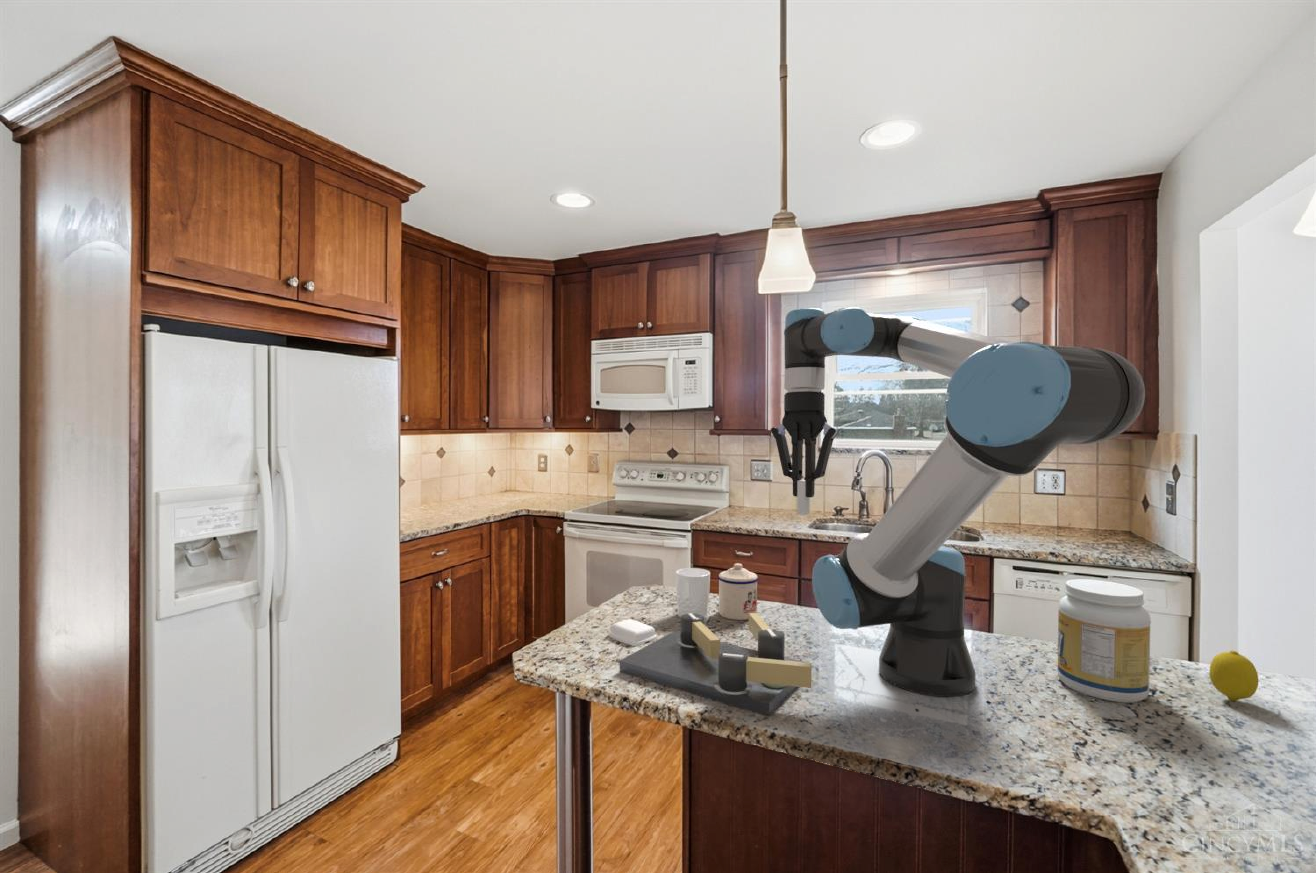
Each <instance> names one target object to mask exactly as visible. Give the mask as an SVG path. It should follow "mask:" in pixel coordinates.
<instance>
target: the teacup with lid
mask: <svg viewBox="0 0 1316 873" xmlns="http://www.w3.org/2000/svg"><path fill="white" fill-rule="evenodd" d="M717 579H718V580H719V581H718V614H719V615H720V617H723V618H725V619H727V620H728V619H729V620H733V621H746V620H748V621H749V613H757V614H758V581H759V577H758V575H757V574H756V573H754V572H752V571H749V570H748V569H746V568H744V567H743V564H742V563H738V562H737V563H734V564H733V567H731V568H728V569H727V570H724V571H722V572H720V573H719V574H718V576H717Z"/></svg>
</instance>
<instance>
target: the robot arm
mask: <svg viewBox="0 0 1316 873" xmlns="http://www.w3.org/2000/svg"><path fill="white" fill-rule="evenodd" d="M784 323H785V324H784V325H785V326H784V327H785V328H784V331H783V335H784V387H783V388H784V390H786V391H787V392H785V394H784V397H783V398H784V401H783V402H784V403H783V408H784V410H783V411H784V413H783V414H784V416H783V417H782V420H781V423H780V424H778V425H777V426H776V427H775V426H774V427H771V429H770V432H771V434H772V436H773V438H774V439H775V443H776V447H777V451H778V452H777V453H778V455H779V456H778V457H779V462H780V465H781V470H782V474H783V476H784V477H788V478H790V479H791V480H792V495H793V497H796V498H797V500H796V502H797V503H796V515H798V516H800V515H801V516H807V515H809V514H810V506H811V505H810V499H811V498H814V496H815V482H816V480H817V479H820V478H823V477H824V476H825V475H826V471H827V466H828V462H829V459H830V455H831V450H832V448H833V443H834V440H835V438H836V436H837V435H838V434H839V432H840V430H839V428H838V427H834V426H832V425H830V424H829V423H828V419H827V418H826V415H825V402H826V401H825V393H824V392H822V390H824V389H825V381H826V379H825V378H826V377H825V376H826V375H825V374H826V364H825V363H826V362H825V361H826V357H834V356H852V357H854V356H855V357H856V356H857V357H872V358H874V357H877V358H889V359H893V360H896V361H898V362H902V363H905V364H909V365H913V366H915V367H918V368H921V369H924V370H927V371H930V372H933V373H937V374H939V375H942V376H945V377H948V378H950V380H949V382H948V385H947V388H946V393H947V394H948V395H949V396H948V399H946V400H945V401H944V402H945V412H946V416H945V418H944V427H945V431H946V433H947V434H946V435H945V437H944V438H943V439H942V440H941V442H940V443H939V445H938V446H937V447H936V448H935V450H934V451H933V452H932V453H931V454H930V456H929V457H928V458H927V460H926V461H925V462H924V463H923V465H922V466H921V467H920V468H919V470H918V471H917V472H916V473H915V475H914V476H913V478H911V480H910V481H909V482H908V484H907V485H906V486H905V487H904V489H903V490H902V491H901V493H900V494H899V495H898V496H897V498H896V499H895V500H894V501H893V503H892V504H891V506H889V508H888V509H887V510H886V511H885V513H884V514H883V515H882V517H881V518H880V519H879V521H878V522H877V523H876V524H875V526H874V527H873V528H872V529H871V531H870V532H866V533H865V532H864V533H859V534H856V535H855V536H854V537H852V539H850V541H849V542H848V543H847V544H846V546H845V547H844V548H843V549H842V551H841V552H840V553H838V554H835V555H832V554H826V555H824V556H821V557H819V558H818V559H816V562H815V564H814V566H813V569H812V577H811V579H812V580H811V584H812V591H813V597H814V599H815V602H816V606H817V608H818V609H819V611H820V613H821V615H822V617H823V618H824V619H825V621H826V622H828V624H830V625H831V626H833V627H834V628H836V629H839V630H849V629H851V630H858V629H860V628H861V629H862V628H868V627H874V626H883V625H889V630H888V632H887V635H886V638H885V641H884V644H883V645H882V646H883V647H882V649H881V652H880V655H879V656H878V657H879V658H878V673H879V674H880V675H881V677H882V678H884V679H885V680H886V681H887V682H889V683H891V684H893V685H894V686H897V687H898V688H901V689H904V690H907V691H910V692H913V693H918V694H922V695H928V696H937V697H958V696H963V695H968V694H970V693H972V692H973V691H974V690H975V689H976V676H977V674H976V670H975V668H974V664H973V661H972V658H971V654H970V652H969V649H968V645H967V643H966V642H967V641H966V640H965V639H966V638H965V616H966V614H965V611H966V609H965V608H966V578H967V574H966V566H965V565H966V564H965V563H966V562H965V557H964V556H963V554H962V553H961V552H960V551H959V550H957V549H954V548H951V547H948V546H945V545H944V544H945V543H946V542H947V540H948V539H950V538H951V537H952V536H953V535H954V533H956V531H957V530H959V528H960V527H961V526H962V525H963V524H964V523H965V522H966V521H967V520H968V519H969V518H970V516H971V515H973V514H974V512H975V511H977V509H978V508H979V507H980V506H981V505H982V504H983V503H984V502H985V501H986V500H987V499H988V498H989V497H990V496H991V495H992V494H993V492H994V491H995V490H996V489H997V488H998V487H999V486H1001V484H1002V483H1003V482H1004V481H1005V480H1007V478H1008V477H1009V476H1010V477H1011V476H1014V477H1015V476H1016V477H1022V476H1026V475H1028V474H1030V473H1032V472H1033V471H1034V470H1035V469H1036V468H1037V467H1038V466H1039V465H1040V464H1041V463H1042V462H1043V461H1044V460H1045V459H1046V458H1047V456H1049V454H1051V453H1052V451H1053V450H1055V449H1056V448H1057V447H1058V446H1060V445H1061V446H1062V445H1088V444H1089V445H1090V444H1097V443H1102V442H1104V441H1107V440H1110V439H1112V438H1115V437H1116V436H1118V435H1120V434H1122V433H1124V432H1125V431H1126V430H1127V429H1128V428H1129V427H1131V425H1133V423H1135V422H1136V420H1137V419H1138V417H1139V415H1140V414H1141V412H1142V410H1143V408H1144V405H1145V399H1146V388H1145V384H1144V380H1143V377H1142V375H1141V374H1140V372H1139V370H1138V369H1137V367H1136V366H1134V365H1133V364H1132V363H1131V361H1129V360H1128V359H1126V358H1125V357H1124V356H1122V355H1120V354H1119V353H1116V352H1113V351H1110V350H1107V349H1104V348H1103V349H1102V348H1098V347H1097V348H1096V347H1081V346H1080V347H1079V346H1067V345H1050V344H1049V345H1048V344H1042V343H1038V342H1033V341H1032V342H1031V341H1019V342H1018V341H1016V342H1012V341H1009V340H1004V339H1001V338H995V337H991V336H987V335H983V334H978V333H975V332H971V331H965V330H961V329H957V328H952V327H948V326H944V325H939V324H935V323H931V322H928V321H926V320H925V319H923V318H918V317H916V316H915V317H914V316H908V315H902V316H899V315H897V316H896V315H883V314H874V313H868V312H867V311H865V310H863V309H862V308H861V307H855V306H851V307H848V308H846V307H845V308H844V307H842V308H839V309H837V310H833V311H831V312H828V313H825V311H824V310H823V309H821V308H815V307H806V308H805V307H804V308H798V309H792V310H790V311H788V312H787V314H786V315H785V322H784ZM822 431H823V432H822ZM821 432H822V434H823V439H822V442H821V446H820V449H819V452H818V454H819V455H818V458H816V457H817V456H816V453H817V452H816V446H817V438H818V436H819V435H820V434H821ZM787 433H788V435H789V436H790V438H791V439H790V441H791V447H792V448H791V455H790V451H789V445H788V441H787V438H786V434H787ZM803 446H804V447H805V448H803ZM804 449H805V450H804ZM803 450H804V451H803ZM803 452H804V456H805V457H804V456H803ZM791 456H792V457H791ZM803 457H804V458H803ZM803 459H805V460H804V475H803ZM816 459H817V460H816ZM816 461H817V462H816ZM943 545H944V546H943Z"/></svg>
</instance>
